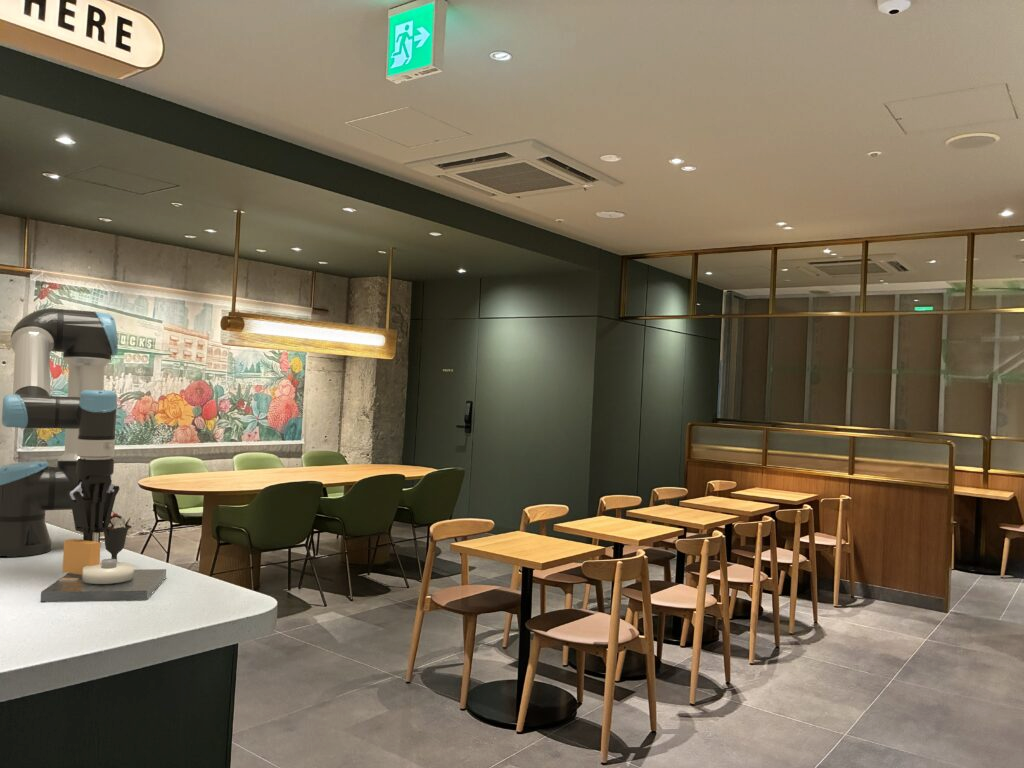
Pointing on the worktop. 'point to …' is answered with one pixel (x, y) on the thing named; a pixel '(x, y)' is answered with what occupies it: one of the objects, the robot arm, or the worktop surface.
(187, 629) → the worktop surface
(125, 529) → the sundae
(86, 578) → the dial
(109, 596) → the panel
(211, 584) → the worktop surface
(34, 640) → the worktop surface
